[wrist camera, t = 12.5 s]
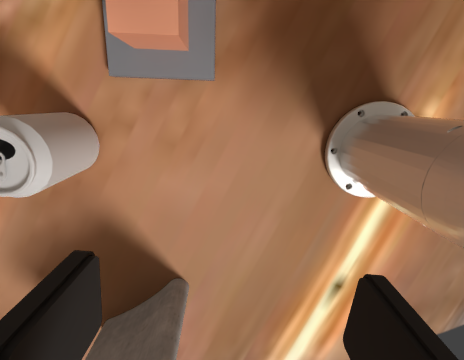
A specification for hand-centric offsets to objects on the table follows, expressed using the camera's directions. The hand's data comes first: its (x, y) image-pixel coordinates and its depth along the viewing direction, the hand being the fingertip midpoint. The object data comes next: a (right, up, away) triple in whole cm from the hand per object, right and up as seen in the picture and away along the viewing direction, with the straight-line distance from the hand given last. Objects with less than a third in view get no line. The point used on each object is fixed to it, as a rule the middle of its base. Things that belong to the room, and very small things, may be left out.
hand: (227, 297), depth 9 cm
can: (-20, +9, +24) cm, 33 cm away
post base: (-8, +22, +20) cm, 31 cm away
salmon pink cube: (-8, +22, +19) cm, 30 cm away
